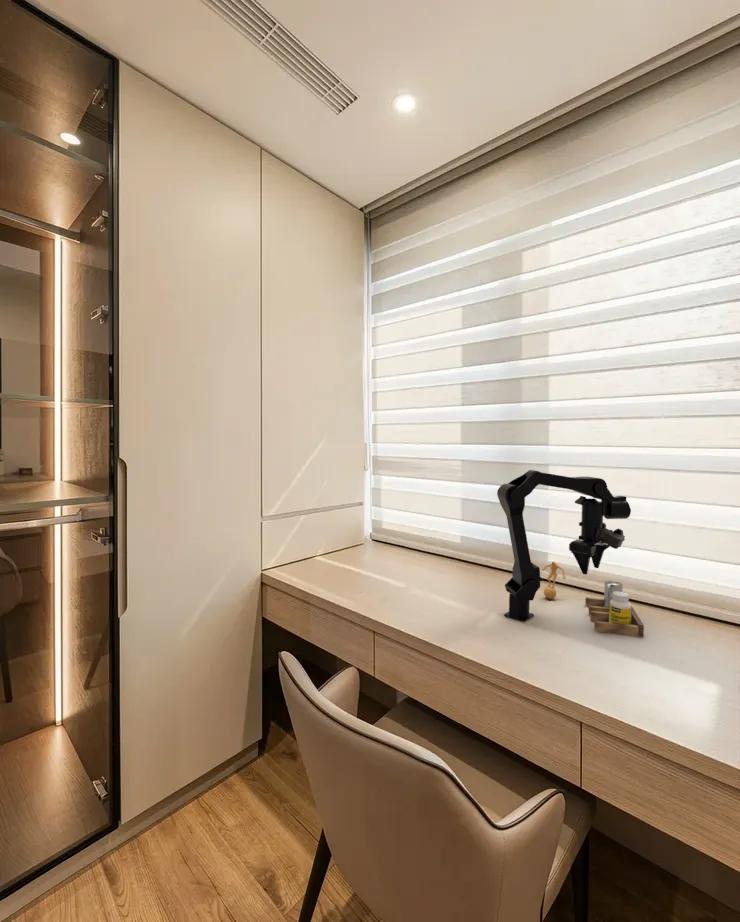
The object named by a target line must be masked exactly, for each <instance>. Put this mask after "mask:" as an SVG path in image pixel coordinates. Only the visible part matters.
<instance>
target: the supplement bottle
mask: <svg viewBox="0 0 740 922" xmlns="http://www.w3.org/2000/svg"><path fill="white" fill-rule="evenodd" d="M612 597H613V599H612V600H610V604H609V622H611V623H620V624H629V625H631V606H632V604H631V602H630V601H629V600H630V594H629V593H626V592H623V591H622V592H619V591H615V592H613V596H612ZM628 601H629V602H628Z"/></svg>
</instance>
